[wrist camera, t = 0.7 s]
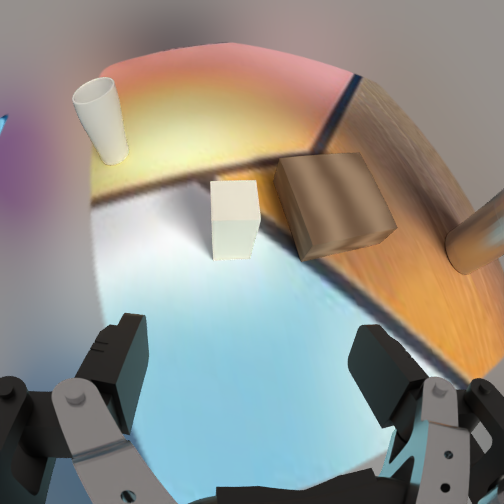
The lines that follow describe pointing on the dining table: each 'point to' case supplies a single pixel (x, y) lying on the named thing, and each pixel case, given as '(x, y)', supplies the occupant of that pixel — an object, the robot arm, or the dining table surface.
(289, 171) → the walnut box
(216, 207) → the offwhite block
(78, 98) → the drinking glass
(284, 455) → the dining table surface
